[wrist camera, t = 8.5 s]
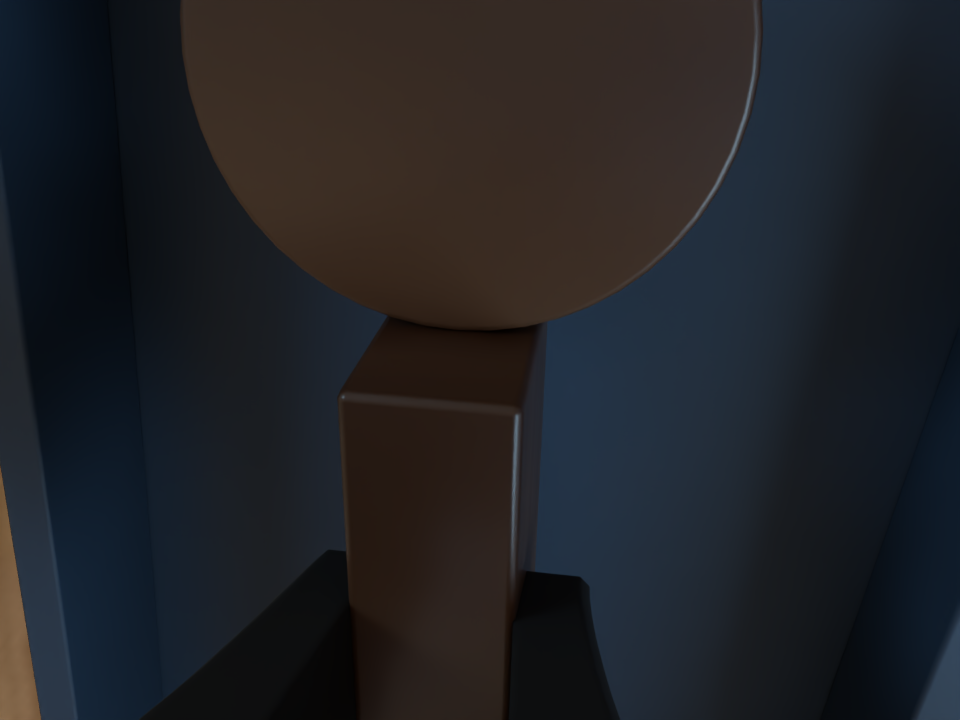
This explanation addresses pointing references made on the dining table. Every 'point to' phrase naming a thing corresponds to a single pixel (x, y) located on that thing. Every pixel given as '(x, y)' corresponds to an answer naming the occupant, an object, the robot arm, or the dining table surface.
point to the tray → (567, 389)
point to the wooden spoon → (463, 259)
